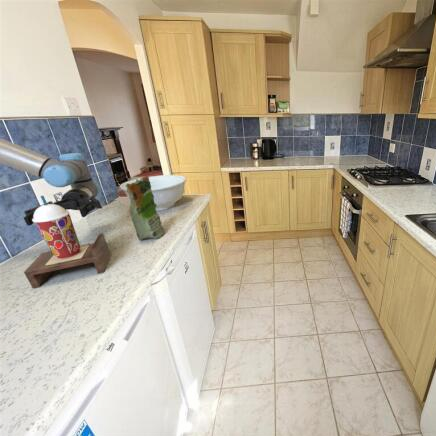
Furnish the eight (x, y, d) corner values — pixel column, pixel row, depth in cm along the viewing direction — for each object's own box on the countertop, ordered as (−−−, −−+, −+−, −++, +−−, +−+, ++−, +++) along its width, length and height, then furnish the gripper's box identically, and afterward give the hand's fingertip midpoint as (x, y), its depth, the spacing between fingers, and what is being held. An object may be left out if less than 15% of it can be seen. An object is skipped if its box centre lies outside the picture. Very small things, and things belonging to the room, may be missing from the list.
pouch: (161, 227, 111) (147, 173, 101) (170, 236, 103) (155, 178, 93) (134, 236, 104) (115, 179, 94) (141, 245, 96) (122, 184, 86)
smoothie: (90, 250, 81) (66, 193, 73) (60, 263, 74) (30, 202, 66) (76, 245, 84) (52, 190, 76) (46, 258, 77) (16, 198, 69)
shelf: (32, 288, 73) (18, 263, 70) (49, 267, 83) (37, 245, 80) (103, 272, 80) (94, 248, 76) (111, 254, 90) (103, 233, 86)
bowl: (199, 196, 152) (195, 173, 146) (175, 217, 122) (169, 189, 116) (149, 197, 153) (142, 174, 147) (113, 218, 123) (103, 190, 117)
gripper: (118, 202, 100) (106, 220, 82) (40, 212, 91) (8, 236, 73) (112, 184, 97) (99, 199, 79) (31, 193, 88) (-5, 213, 70)
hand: (55, 217), depth 76 cm, fingers open, 13 cm apart
